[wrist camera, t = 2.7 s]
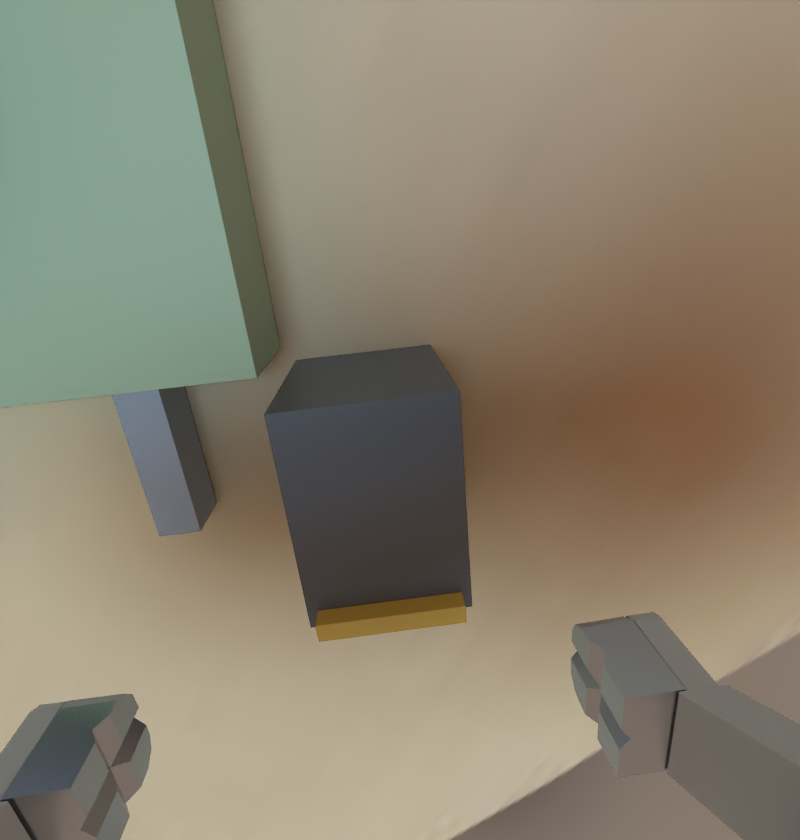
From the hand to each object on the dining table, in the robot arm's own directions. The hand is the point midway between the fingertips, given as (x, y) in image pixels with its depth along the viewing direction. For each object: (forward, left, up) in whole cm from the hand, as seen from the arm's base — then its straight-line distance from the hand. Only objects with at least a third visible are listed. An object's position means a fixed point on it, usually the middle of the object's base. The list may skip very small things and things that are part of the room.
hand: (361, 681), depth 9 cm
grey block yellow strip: (-1, 0, -11) cm, 11 cm away
